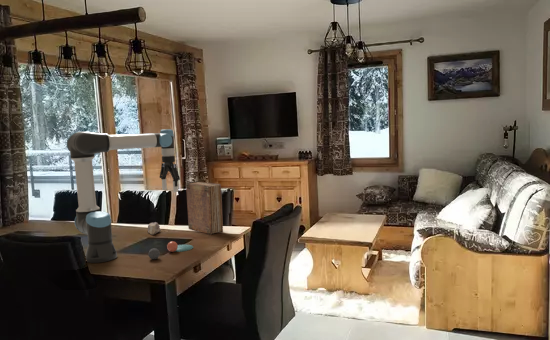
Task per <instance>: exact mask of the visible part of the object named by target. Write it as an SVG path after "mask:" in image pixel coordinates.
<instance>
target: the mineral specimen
mask: <svg viewBox="0 0 550 340" xmlns="http://www.w3.org/2000/svg"><path fill="white" fill-rule="evenodd" d="M159 232H161V228H160V225H159V223H158V222H156V221H155V222H150V223H149V224H148V226H147V233H148V234H149V235H152V236H154V235H156V234H158V233H159Z"/></svg>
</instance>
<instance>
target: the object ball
mask: <svg viewBox="0 0 550 340" xmlns="http://www.w3.org/2000/svg"><path fill="white" fill-rule="evenodd" d="M178 245H179V244H178V243H177V242H176V241H173V240H172V241H169V242H168V243H167V244H166V248H167V250H168V251H169V252H171V253H174V251H176V250H177V248H178Z"/></svg>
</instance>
